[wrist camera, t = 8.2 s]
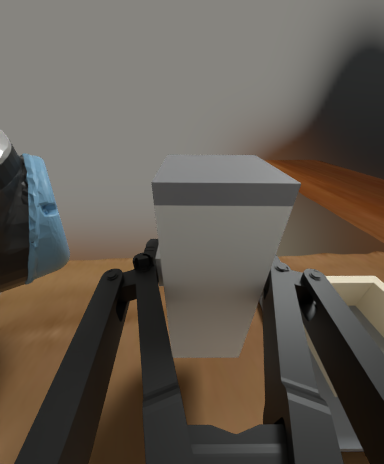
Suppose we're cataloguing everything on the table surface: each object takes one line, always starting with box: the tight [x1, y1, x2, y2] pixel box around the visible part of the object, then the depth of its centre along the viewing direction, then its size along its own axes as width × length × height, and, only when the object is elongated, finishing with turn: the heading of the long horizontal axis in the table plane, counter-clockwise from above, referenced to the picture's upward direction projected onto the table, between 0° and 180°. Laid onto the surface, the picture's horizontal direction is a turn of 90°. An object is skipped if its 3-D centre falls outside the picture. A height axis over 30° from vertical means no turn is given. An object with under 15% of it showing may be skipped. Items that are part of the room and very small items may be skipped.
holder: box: [259, 276, 384, 452], centre depth 21 cm, size 18×18×6 cm
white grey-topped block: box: [152, 155, 301, 358], centre depth 14 cm, size 6×6×16 cm
